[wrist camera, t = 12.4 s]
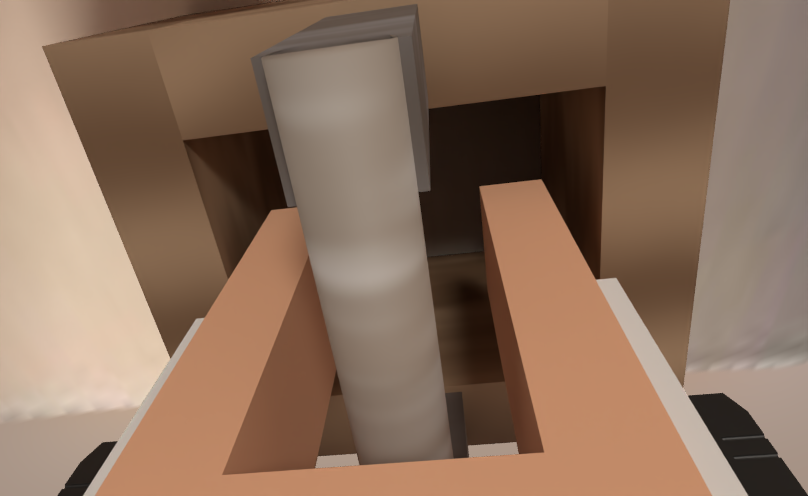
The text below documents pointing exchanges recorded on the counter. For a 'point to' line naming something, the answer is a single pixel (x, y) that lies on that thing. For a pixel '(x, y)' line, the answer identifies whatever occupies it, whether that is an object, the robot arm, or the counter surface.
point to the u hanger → (315, 371)
